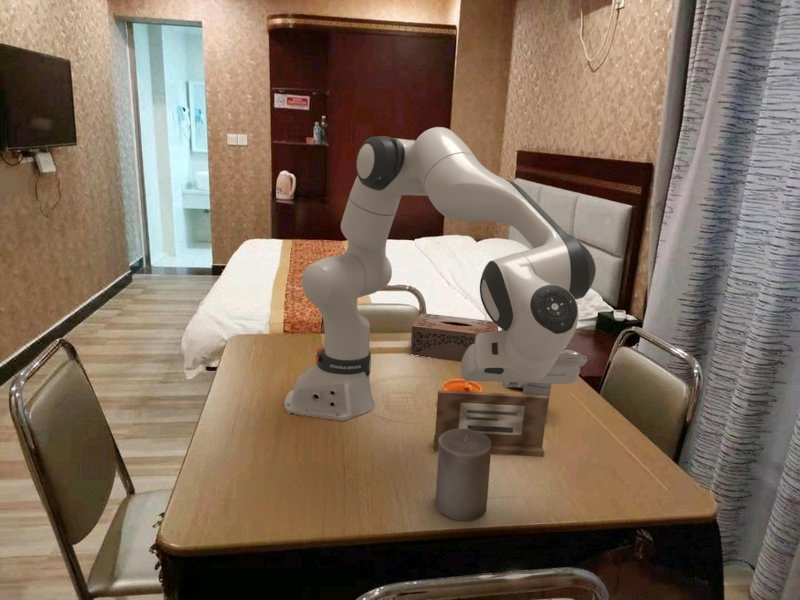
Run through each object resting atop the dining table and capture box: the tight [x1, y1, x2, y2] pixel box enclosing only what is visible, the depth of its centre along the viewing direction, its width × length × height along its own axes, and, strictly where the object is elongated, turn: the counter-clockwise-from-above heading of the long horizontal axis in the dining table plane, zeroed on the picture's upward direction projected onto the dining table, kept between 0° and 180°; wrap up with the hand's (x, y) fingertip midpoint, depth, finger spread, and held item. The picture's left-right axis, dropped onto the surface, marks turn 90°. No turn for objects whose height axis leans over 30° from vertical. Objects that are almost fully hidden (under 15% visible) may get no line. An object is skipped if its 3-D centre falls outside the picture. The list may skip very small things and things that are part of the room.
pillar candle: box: [434, 429, 492, 522], centre depth 108 cm, size 10×10×15 cm
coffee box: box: [522, 383, 552, 424], centre depth 146 cm, size 9×6×16 cm
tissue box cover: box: [410, 312, 499, 363], centre depth 186 cm, size 26×14×10 cm, turn 77°
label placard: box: [433, 389, 549, 457], centre depth 129 cm, size 24×5×13 cm, turn 89°
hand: (511, 383), depth 108 cm, fingers closed
